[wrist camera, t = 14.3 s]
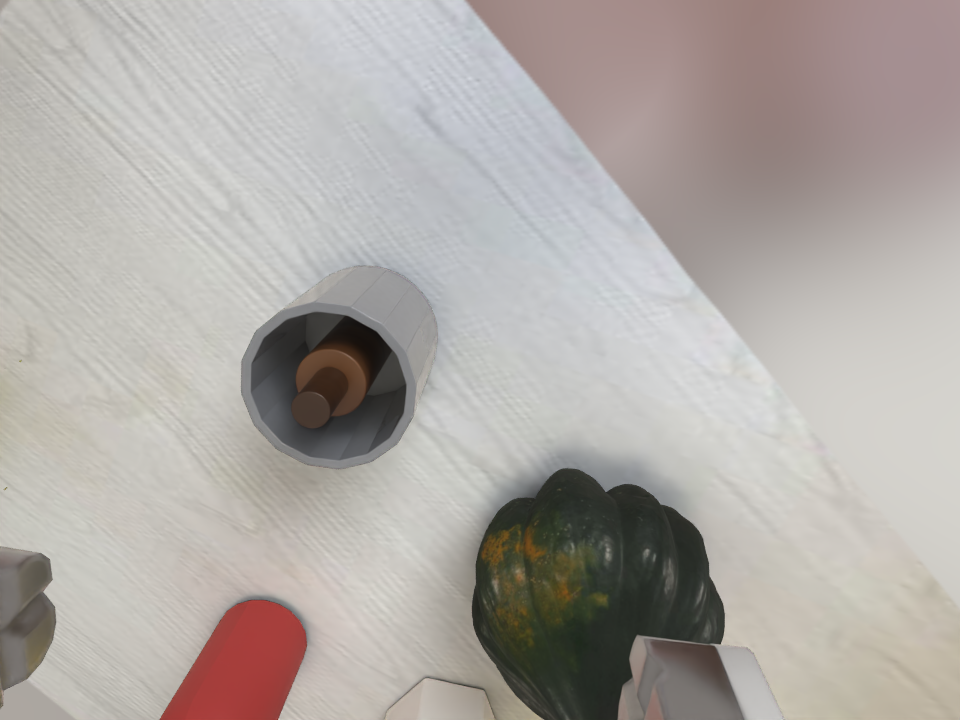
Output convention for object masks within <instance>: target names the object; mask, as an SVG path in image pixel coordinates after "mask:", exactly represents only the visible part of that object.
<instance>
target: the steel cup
mask: <svg viewBox="0 0 960 720" xmlns="http://www.w3.org/2000/svg"><path fill="white" fill-rule="evenodd" d="M344 316H349V317H351V318H353V319H355V320H357V321H358V322H360V323H362V324H364V325H366V326H367V327H369V328H371V329H373V330H375V331H377V333H378V334H379V335H380V336H381V337H382V338H383V340H384V341H385V342H386V343H387V344H388V346H389V347H390V348H391V349H392V352H391V354H390V355H389V357H388V359H387V360H386V362H385V364H384V365H383V367H382V369H381V371H380V372H379V374H378V376H377V377H376V379H375V381H374V383H373V384H372V386H371V388H370V389H369V391H368V393H367V395H366V396H365V398H364V400H363V401H362V403H361V404H360V405H359V407H358V408H356V409H355V410H354V411H352V412H351V413H348V414H346V415H342V416H331V417H330V418H329V420H328V421H327V422H326V424H324V425H323V426H321V427H319V428H307V427H304V426H302V425H300V424H299V423H298V422H297V421H296V420H295V419H294V417H293V415H292V412H291V404H292V401H293V399H294V398H295V397H296V396H297V394H298V391H297V387H296V372H297V369H298V366H299V365H300V363H301V361H302V360H303V359H304V358H305V357H306V356H307V355H308V354H309V353H310V352H311V351H312V350H313V349H314V348H315V347H316V345H317V344H318V343H319V342H320V341H321V340H322V339H323V338H324V337H325V336H326V335H327V334H328V333H329V332H330V331H331V330H332V329H333V328H334V327H335V326H336V325H337V324H338V323H339V322H340V321H341V320H342V319H343V317H344ZM437 341H438V331H437V323H436V319H435V316H434V313H433V310H432V308H431V306H430V304H429V302H428V300H427V299H426V298H425V296H424V295H423V293H422V292H421V291H420V290H419V289H418V288H417V287H416V286H415V285H414V284H413V283H412V282H411V281H409V280H408V279H406V278H405V277H403V276H402V275H400V274H398V273H396V272H394V271H391V270H388V269H385V268H382V267H377V266H366V265H365V266H354V267H349V268H345V269H343V270H340V271H338V272H336V273H332V274H330V275H329V276H327V277H326V278H325V279H323V280H322V281H321V282H319V283H318V284H316V285H315V286H314V287H312V288H311V289H310V290H308V291H307V292H306V293H304V294H303V295H301V296H300V297H299V298H297V299H296V300H295V301H293V302H292V303H291V304H289V305H288V306H286V307H285V308H284V309H282V310H281V311H280V312H278V313H277V314H276V315H275V316H274V317H272V318H271V319H270V320H269V321H267V322H266V323H265V324H264V325H263V326H261V327H260V328H259V329H258V330H256V332H255V333H254V335H253V338H252V340H251V342H250V344H249V346H248V348H247V350H246V352H245V354H244V356H243V358H242V364H241V393H242V397H243V399H244V402H245V404H246V407H247V409H248V412H249V414H250V416H251V419H252V421H253V424H254V425H255V426H256V427H257V428H258V430H259V431H260V432H261V433H262V434H263V435H264V436H265V437H266V438H267V439H268V440H269V441H270V443H271V444H272V445H273V446H274V447H275V448H276V449H278V450H279V451H281V452H283V453H285V454H287V455H289V456H291V457H293V458H295V459H297V460H299V461H300V462H302V463H304V464H307V465H312V466H319V467H326V468H334V469H344V468H348V467H352V466H357V465H361V464H365V463H370V462H372V461H374V460H375V459H377V458H378V457H380V456H381V455H382V454H384V453H385V452H387V451H388V450H389V449H391V448H392V447H394V446H395V445H396V444H397V443H398V442H399V440H400V439H401V437H402V435H403V434H404V432H405V430H406V428H407V427H408V425H409V423H410V422H411V420H412V418H413V416H414V413H415V411H416V408H417V405H418V402H419V400H420V397H421V394H422V392H423V389H424V386H425V384H426V381H427V378H428V376H429V373H430V370H431V367H432V365H433V362H434V359H435V353H436V348H437Z"/></svg>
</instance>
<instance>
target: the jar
mask: <svg viewBox="0 0 960 720" xmlns="http://www.w3.org/2000/svg"><path fill="white" fill-rule="evenodd" d="M385 720H495V717H494V715H493V712H492V709H491V707H490V704H489V701H488V699H487V696H486V693H485V692H484V691H483V690H481V689H476V688H472V687H467V686H462V685H458V684H453V683H449V682H444V681H440V680H435V679H431V678H425V679H423V680H422V681H421V682H420V683H419V684H417V685H416V686H415V687H414V688H413V689H412V690H411V691H409V692H408V693H407V694H406V695H405V696H404V697H402V698H401V699H400V700H399V701H398V702H397V703H395V704H394V705H393V706H392V707H391V708H390V709H388V710H387V713H386V717H385Z"/></svg>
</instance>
